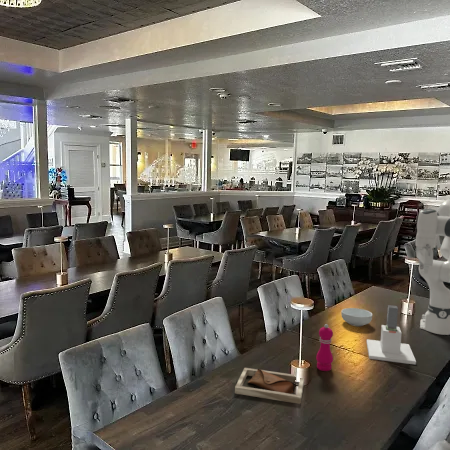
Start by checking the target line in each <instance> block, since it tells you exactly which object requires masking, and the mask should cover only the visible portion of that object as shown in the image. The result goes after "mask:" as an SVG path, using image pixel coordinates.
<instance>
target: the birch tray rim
mask: <svg viewBox="0 0 450 450" xmlns="http://www.w3.org/2000/svg"><path fill="white" fill-rule="evenodd" d="M257 370H258V368H257V369H256V368H249V367H243V370H242V372H241V374H240V376H239V378H238V380H237V383H236V384H235V386H234V394H236V395H242V396H243V395H244V396H248V397H249V396H250V397H254V398H255V397H257V398H261V399H267V400H274V401H278V402H279V401H280V402H287V403H292V404H298V405H301V403H302V399H303V398H302V397H303V390H304V384H305V377H304V378H300V382H299V383H298V386H297V392H296V393H297V394H295V393H292V394H288V393H282V392H275V391H269V390H264V389H262V388H256V387H255V388H254V387H249V386H244V383H245V381H246V379H247V376H249V377H253V376H254V374H255V373H256V371H257ZM261 370H262V371H265V372H267V373H270V374H273V375H275V376H278V377H280V378H282V379H285V380H287V381H291V382H293V383H295V380H296V377H295V376H294V375H295V374H292V373H286V372H285V373H284V372H277V371H269V370H264V369H261Z"/></svg>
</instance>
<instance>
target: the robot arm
mask: <svg viewBox="0 0 450 450" xmlns="http://www.w3.org/2000/svg"><path fill="white" fill-rule="evenodd" d="M416 223H417V224H416V229H417V232H416V234H415V235H416V237H415V246H416V248H415V252H416V258H417V260H418V263H419V264H418V273H419V275H420V276H421V277H422V278H423V279H424V280H425V282H426V284H427V285H428V288H429V303H428V305H427V310H426V312H425V313H424V314H421V319H420V323H419V325H420V326H419V329H420V330H421V329H422V330H424V331H427V332H429V333H433V334H435V335H436V334H437V335H442V336H443V335H444V336H445V335H447V336H449V335H450V288H448V287H446V286H445V284H444V283H449V284H450V198H449V197H448V198H447V199H446V200H444V201H443V202H442V203H440V204H439V207H438V209H437V210H436V209H432V208H426V209H425V208H424V209H421V210H420V211H419V212H418V216H417V222H416ZM437 236H438V237H439V236H441V237H444V238H443V240H442V242H441V246H440V248H439V253H440V255H441V256H442V257H443V258H444V259H445V260H447V261H443V260H437V259H434V250H433V249H434V248H435V249H436V247H437Z"/></svg>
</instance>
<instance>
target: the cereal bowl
mask: <svg viewBox="0 0 450 450" xmlns="http://www.w3.org/2000/svg"><path fill="white" fill-rule="evenodd" d="M340 314H341V319H342V320H343V321H344V322H346V323H347V324H349V325H351V326H354V327H362V326H364V325H365V326H366V325H369V324H370V323H371V321H373V320H372V318H373V313H372V312H371V311H369V310H367V309H364V308H358V307H347V308H343V309H341V312H340Z"/></svg>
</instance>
